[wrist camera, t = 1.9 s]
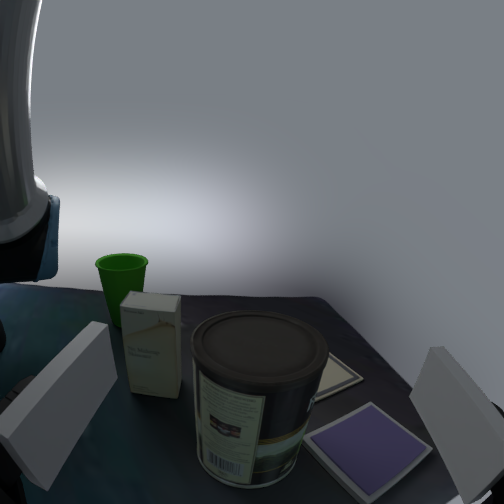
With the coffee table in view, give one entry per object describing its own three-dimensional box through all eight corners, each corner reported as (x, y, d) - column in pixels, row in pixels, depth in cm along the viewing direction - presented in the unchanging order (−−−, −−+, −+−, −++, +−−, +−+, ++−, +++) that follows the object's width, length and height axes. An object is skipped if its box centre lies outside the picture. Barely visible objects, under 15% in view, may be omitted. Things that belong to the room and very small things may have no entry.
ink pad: (299, 441, 26) (301, 435, 26) (368, 406, 31) (371, 399, 31) (364, 508, 17) (369, 503, 16) (429, 453, 22) (434, 446, 22)
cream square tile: (230, 353, 42) (230, 351, 42) (305, 336, 48) (306, 334, 48) (281, 415, 30) (281, 412, 30) (362, 380, 37) (363, 377, 37)
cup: (154, 310, 52) (152, 254, 49) (146, 336, 44) (142, 271, 41) (109, 307, 51) (104, 252, 48) (95, 331, 42) (87, 268, 39)
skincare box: (130, 393, 30) (116, 306, 27) (138, 372, 35) (128, 289, 32) (180, 399, 31) (175, 311, 28) (183, 377, 35) (181, 293, 32)
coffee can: (292, 417, 30) (316, 312, 26) (301, 489, 20) (344, 385, 16) (203, 411, 30) (203, 303, 26) (188, 483, 20) (175, 375, 16)
